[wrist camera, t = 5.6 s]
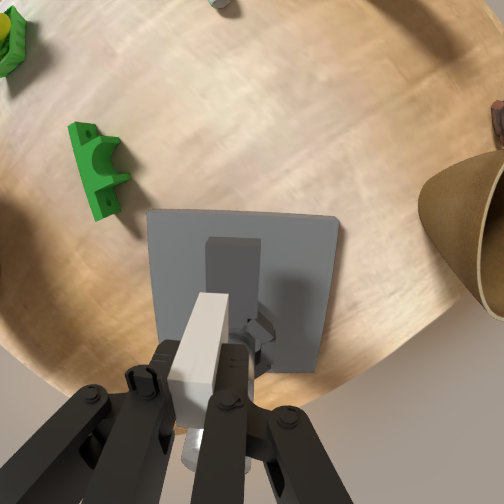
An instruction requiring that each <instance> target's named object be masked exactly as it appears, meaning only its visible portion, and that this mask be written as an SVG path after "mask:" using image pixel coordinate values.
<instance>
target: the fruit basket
mask: <svg viewBox="0 0 504 504" xmlns="http://www.w3.org/2000/svg"><path fill="white" fill-rule="evenodd" d="M25 27H26V20H25V19H24V18H23V17H22V16H21V15H20V14H19V13H18V11H17V10H16V8H15V7H14V5H12V6H11V7H9V8H8V9H7V10H6V11H5V12H4V13H0V78H2V77H6V76H7V75H8V74H9V73H10V72H11V71H13V70H14V69H15V68H16V67H17V66H18V65H19V64H20V63H21V62H23V61H24V60H25V35H26V30H25Z"/></svg>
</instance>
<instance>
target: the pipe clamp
mask: <svg viewBox="0 0 504 504" xmlns="http://www.w3.org/2000/svg"><path fill="white" fill-rule="evenodd" d="M68 130H69V135H70V139H71V143H72V147H73V151H74V155H75V158H76V162H77V166H78V169H79V173H80V176H81V179H82V183H83V186H84V189H85V192H86V195H87V199H88V202H89V205H90V208H91V210H92V213H93V216H94V219H95V222H96V221H99V220H101V219H103V218H105V217H108V216H110V215H112V214H114V213H117V212H119V211H121V209H120V206H119V203H118V200H117V197H116V194H115V191H114V188H113V187H114V186H116V185H119V184H121V183H123V182H125V181H128V180H130V179H131V176H130V173H125V174H121V173H118V172H117V171H116V170H115V169H114V168H113V166H112V163H111V155H112V152H113V150H114V148H115V147H116V146H117V145H118V144H120V140H119V137H111V136H98V134H97V130H96V126H95V124H90V123H82V122H74V123H72V124H71V125H69V126H68Z"/></svg>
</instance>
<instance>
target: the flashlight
mask: <svg viewBox="0 0 504 504" xmlns="http://www.w3.org/2000/svg"><path fill="white" fill-rule="evenodd" d="M229 1H231V0H208V2H209V3H210V5H211V6H212V7H214V8H223V7H225V6H227V5H228V4H229Z"/></svg>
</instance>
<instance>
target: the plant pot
mask: <svg viewBox="0 0 504 504" xmlns="http://www.w3.org/2000/svg"><path fill="white" fill-rule="evenodd" d="M418 212H419V216H420V219H421V222H422V224H423V226H424V228H425V229H426V231H427V233H428V235H429V237H430V238H431V240H432V241H433V243H434V245H435V246H436V248H437V249H438V251H439V252H440V254H441V255H442V257H443V258H444V259H445V261H446V262H447V263H448V265H449V266H450V267H451V269H452V270H453V271H454V273H455V274H456V275H457V276H458V278H459V279H460V280H461V281H462V283H463V284H464V285H465V286H466V288H467V289H468V290H469V291H470V292H471V293H472V295H473V296H474V297H475V298H476V299H477V300H478V302H479V303H480V304H481V305H482V306H483V307H484V309H486V311H487V312H488V313H489V314H490V315H491V316H492V317H493V318H495V319H497V320H499V321H504V149H502V150H497V151H493V152H489V153H485V154H481V155H478V156H475V157H472V158H469V159H466V160H464V161H461V162H459V163H457V164H454V165H452V166H450V167H448V168H447V169H445V170H443V171H441V172H439V173H438V174H436V175H435V176H433V177H432V178H430V179H429V180H428V181H427V182H426V183H425V185H424V186H423V188H422V190H421V192H420V195H419V200H418Z"/></svg>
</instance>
